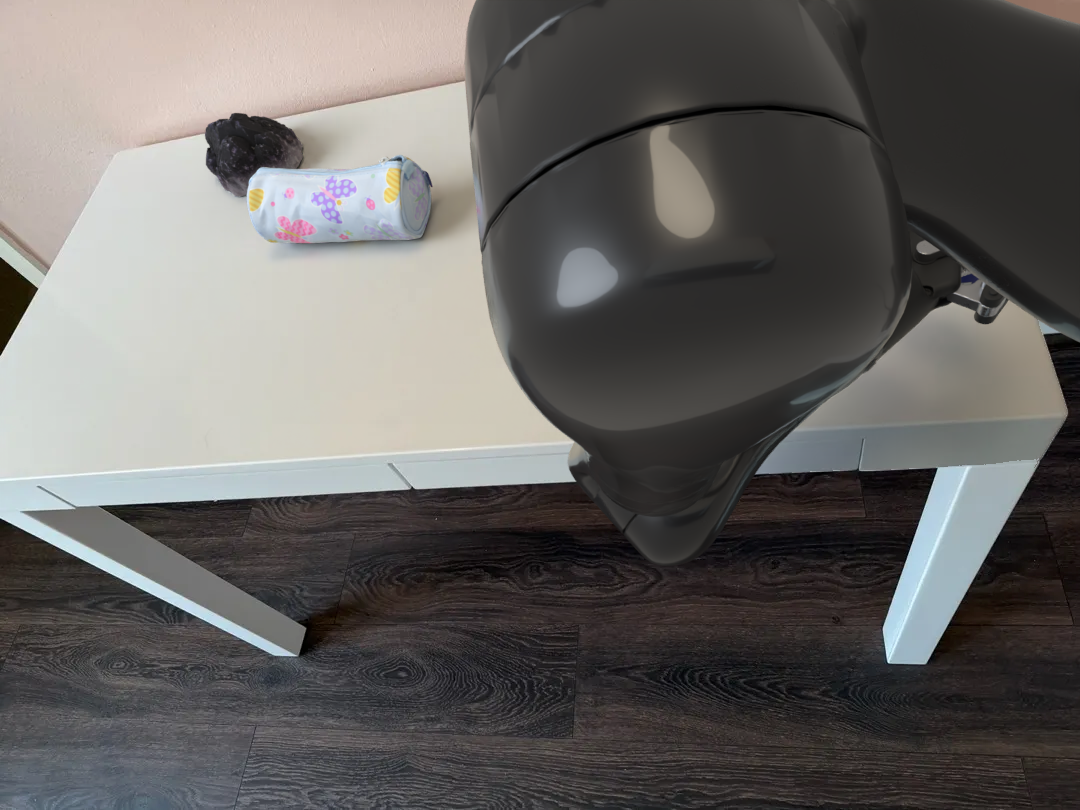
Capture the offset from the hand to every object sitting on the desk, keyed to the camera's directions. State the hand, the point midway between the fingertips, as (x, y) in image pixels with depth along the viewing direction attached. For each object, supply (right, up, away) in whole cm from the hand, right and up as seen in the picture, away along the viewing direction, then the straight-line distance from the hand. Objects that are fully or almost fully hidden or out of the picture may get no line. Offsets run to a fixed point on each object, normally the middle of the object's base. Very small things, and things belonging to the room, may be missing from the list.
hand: (996, 180), depth 54 cm
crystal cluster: (-70, +17, +52) cm, 89 cm away
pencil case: (-54, +5, +39) cm, 67 cm away
